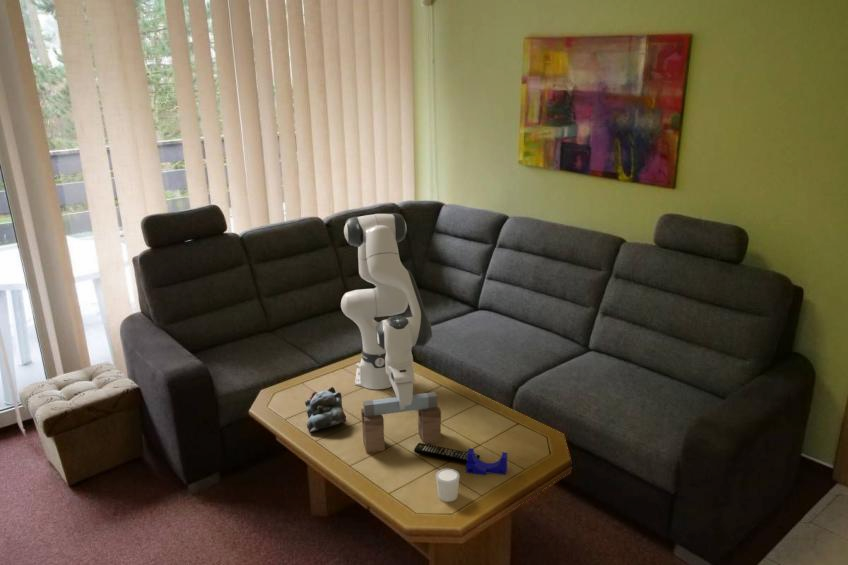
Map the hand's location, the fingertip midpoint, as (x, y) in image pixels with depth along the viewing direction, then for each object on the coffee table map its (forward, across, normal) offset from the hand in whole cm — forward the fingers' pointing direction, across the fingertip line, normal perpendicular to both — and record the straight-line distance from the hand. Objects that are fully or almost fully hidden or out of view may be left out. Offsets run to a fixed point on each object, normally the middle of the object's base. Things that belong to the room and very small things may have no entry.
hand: (400, 405), depth 213 cm
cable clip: (+14, +23, +22) cm, 35 cm away
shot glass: (+14, +32, +7) cm, 36 cm away
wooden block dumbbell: (+14, 0, 0) cm, 14 cm away
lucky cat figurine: (+14, -18, -24) cm, 33 cm away
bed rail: (+2, 0, 0) cm, 2 cm away
